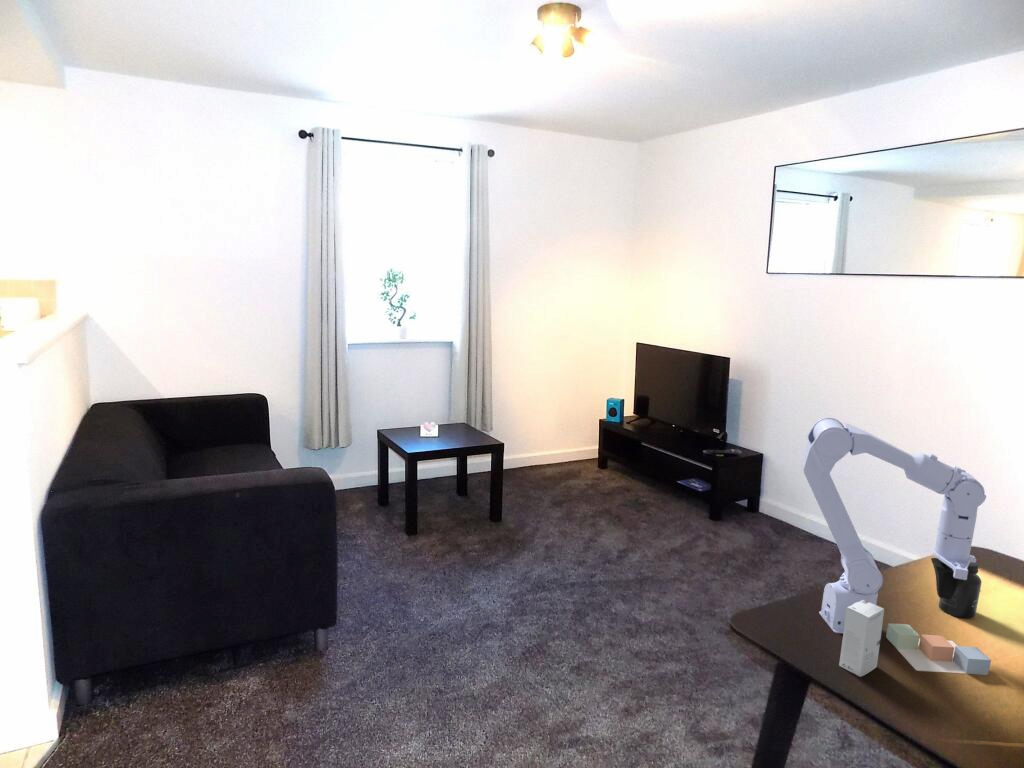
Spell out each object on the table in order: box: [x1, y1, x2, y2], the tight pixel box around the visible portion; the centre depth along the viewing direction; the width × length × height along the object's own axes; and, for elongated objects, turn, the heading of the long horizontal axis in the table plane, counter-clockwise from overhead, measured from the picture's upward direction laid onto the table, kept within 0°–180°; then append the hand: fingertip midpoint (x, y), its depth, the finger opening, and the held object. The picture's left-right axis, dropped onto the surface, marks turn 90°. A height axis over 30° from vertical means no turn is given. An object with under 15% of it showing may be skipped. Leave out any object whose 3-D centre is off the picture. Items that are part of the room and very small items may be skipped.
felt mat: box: [885, 636, 987, 676], centre depth 127 cm, size 13×11×1 cm
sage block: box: [885, 622, 921, 650], centre depth 130 cm, size 4×4×3 cm
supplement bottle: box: [938, 561, 982, 620], centre depth 143 cm, size 7×7×12 cm
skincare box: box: [838, 600, 885, 678], centre depth 122 cm, size 6×4×12 cm
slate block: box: [953, 645, 992, 676], centre depth 123 cm, size 4×4×3 cm
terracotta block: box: [919, 634, 954, 662], centre depth 127 cm, size 4×4×3 cm
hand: (944, 597), depth 131 cm, fingers closed
